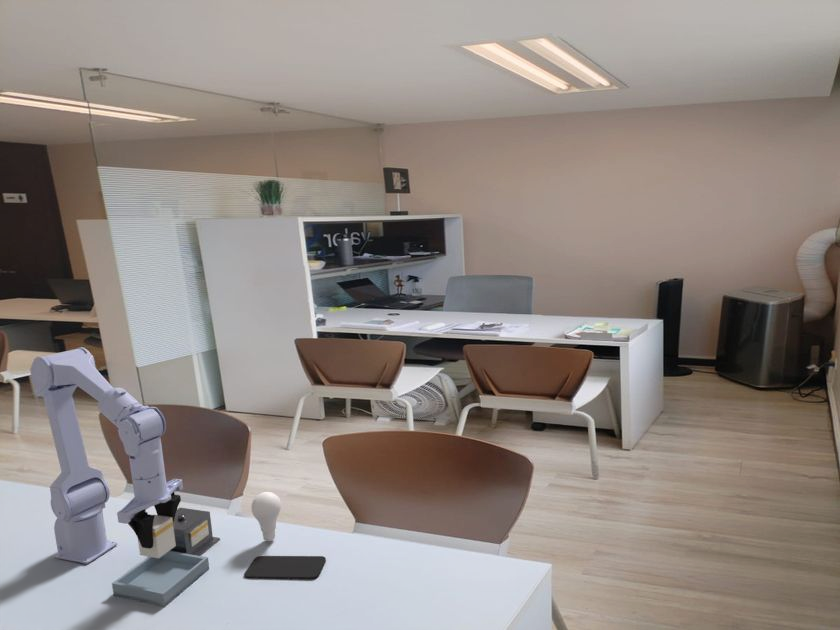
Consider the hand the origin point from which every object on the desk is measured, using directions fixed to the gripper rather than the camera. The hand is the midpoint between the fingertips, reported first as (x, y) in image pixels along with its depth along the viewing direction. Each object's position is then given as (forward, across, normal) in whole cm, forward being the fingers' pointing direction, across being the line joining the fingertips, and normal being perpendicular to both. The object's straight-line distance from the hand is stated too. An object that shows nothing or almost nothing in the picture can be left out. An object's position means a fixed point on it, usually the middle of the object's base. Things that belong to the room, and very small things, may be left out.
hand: (157, 540), depth 117 cm
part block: (+2, 0, 0) cm, 2 cm away
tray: (+9, 0, 0) cm, 9 cm away
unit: (+9, +11, +4) cm, 15 cm away
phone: (+9, +10, -21) cm, 25 cm away
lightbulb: (+9, +18, -12) cm, 24 cm away
